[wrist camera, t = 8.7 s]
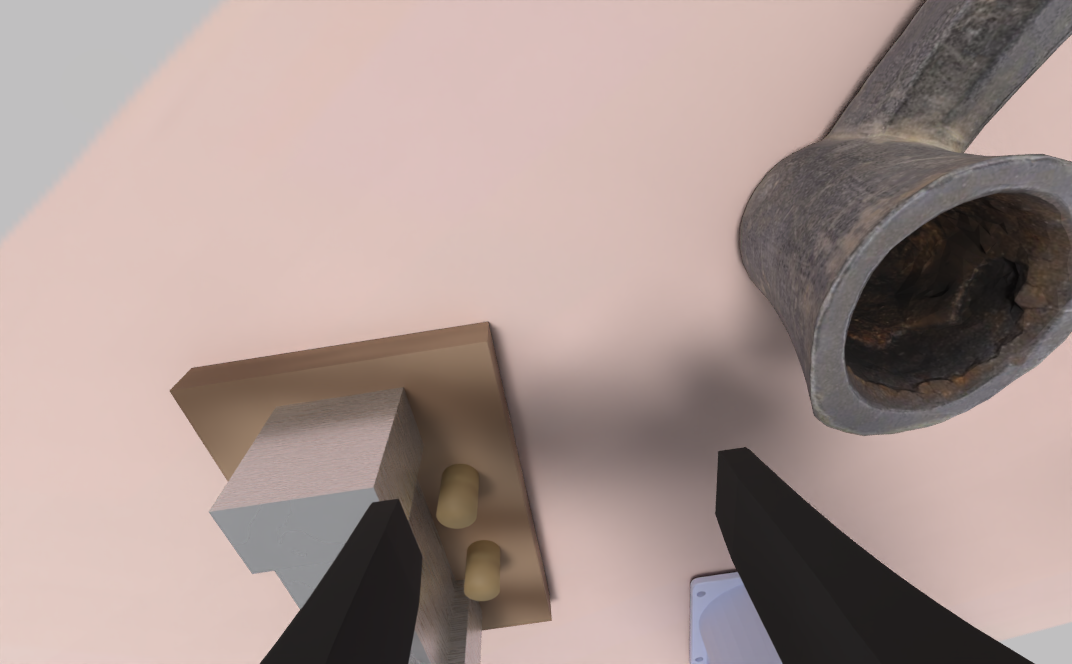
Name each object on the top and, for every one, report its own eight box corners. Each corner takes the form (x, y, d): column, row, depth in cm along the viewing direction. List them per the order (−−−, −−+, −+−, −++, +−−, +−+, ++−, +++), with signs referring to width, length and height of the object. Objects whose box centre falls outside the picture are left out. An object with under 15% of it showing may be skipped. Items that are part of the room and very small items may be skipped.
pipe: (1053, -12, 15) (1524, -63, 8) (782, 327, 20) (924, 471, 14) (909, -130, 13) (1339, -317, 7) (658, 272, 19) (747, 401, 12)
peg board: (549, 594, 28) (555, 659, 25) (344, 623, 29) (325, 691, 26) (488, 321, 19) (484, 372, 16) (191, 368, 20) (134, 426, 17)
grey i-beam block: (482, 613, 26) (477, 723, 22) (390, 626, 27) (367, 738, 22) (403, 386, 19) (373, 487, 15) (275, 406, 19) (208, 511, 15)
